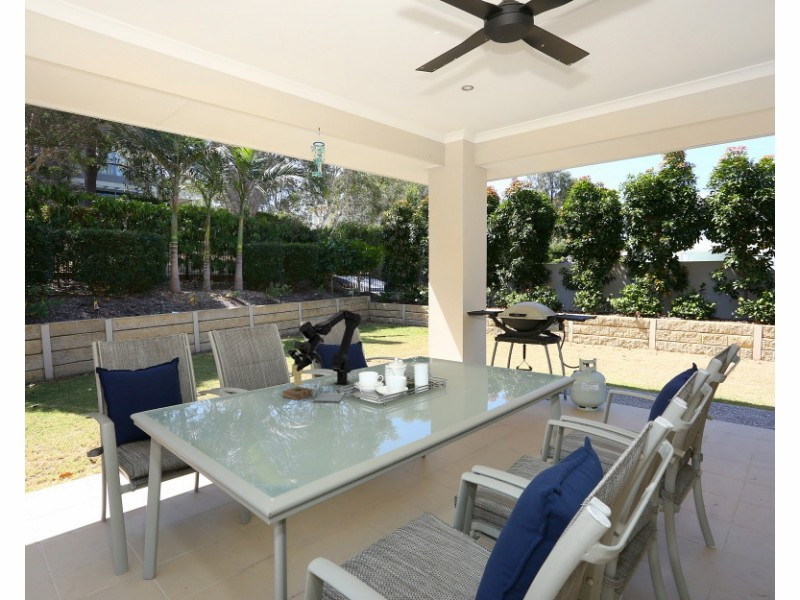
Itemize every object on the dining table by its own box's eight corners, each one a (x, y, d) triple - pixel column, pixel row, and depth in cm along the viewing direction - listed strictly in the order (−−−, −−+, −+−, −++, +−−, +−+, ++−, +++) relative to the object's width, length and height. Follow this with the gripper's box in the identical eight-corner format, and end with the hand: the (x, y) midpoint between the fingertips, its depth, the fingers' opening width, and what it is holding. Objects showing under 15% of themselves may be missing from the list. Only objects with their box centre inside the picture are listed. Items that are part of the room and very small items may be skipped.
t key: (299, 383, 225) (299, 362, 225) (303, 383, 224) (303, 363, 223) (292, 385, 221) (291, 364, 221) (295, 386, 220) (295, 365, 219)
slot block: (298, 392, 230) (298, 386, 230) (312, 395, 224) (312, 389, 224) (283, 396, 222) (282, 390, 222) (297, 400, 216) (297, 394, 216)
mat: (320, 395, 225) (320, 393, 225) (344, 395, 224) (344, 393, 224) (313, 402, 213) (313, 400, 213) (339, 403, 212) (339, 400, 212)
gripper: (290, 333, 230) (272, 358, 221) (317, 336, 219) (300, 363, 211) (301, 346, 237) (285, 371, 228) (328, 350, 226) (312, 376, 218)
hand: (295, 370), depth 221 cm, fingers closed on t key, 2 cm apart
